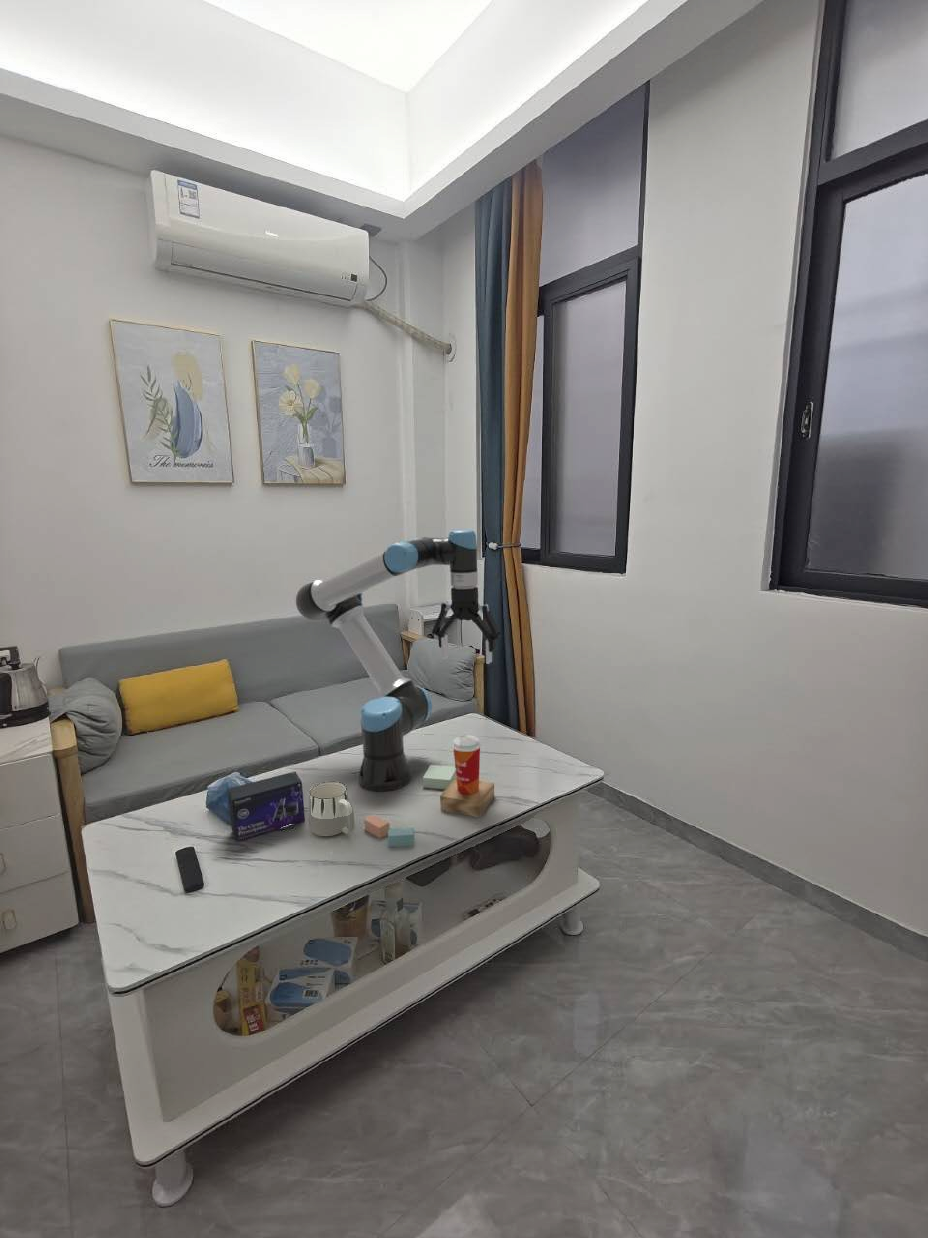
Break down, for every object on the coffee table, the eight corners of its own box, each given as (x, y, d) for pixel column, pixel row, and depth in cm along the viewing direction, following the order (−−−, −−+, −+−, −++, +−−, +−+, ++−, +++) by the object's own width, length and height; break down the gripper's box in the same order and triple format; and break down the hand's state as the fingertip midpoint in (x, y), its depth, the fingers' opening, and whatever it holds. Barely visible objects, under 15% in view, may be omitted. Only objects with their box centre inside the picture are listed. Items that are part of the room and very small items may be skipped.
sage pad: (423, 787, 164) (422, 777, 163) (431, 774, 171) (430, 764, 171) (450, 790, 162) (450, 780, 161) (457, 776, 169) (457, 767, 169)
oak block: (440, 809, 152) (440, 795, 151) (457, 789, 162) (457, 776, 161) (479, 817, 148) (478, 803, 147) (494, 796, 157) (494, 783, 157)
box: (236, 844, 140) (230, 799, 137) (231, 831, 145) (226, 787, 143) (306, 822, 148) (302, 780, 145) (299, 811, 154) (295, 769, 151)
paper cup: (450, 785, 156) (447, 737, 153) (476, 780, 159) (474, 732, 156) (459, 799, 149) (457, 749, 146) (487, 793, 151) (485, 743, 148)
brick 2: (388, 847, 136) (387, 836, 136) (389, 840, 139) (388, 829, 139) (413, 846, 137) (413, 834, 136) (414, 838, 140) (413, 827, 139)
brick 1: (364, 830, 144) (364, 819, 143) (374, 824, 146) (373, 814, 146) (380, 839, 140) (379, 828, 139) (389, 833, 142) (389, 822, 142)
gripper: (418, 587, 161) (421, 660, 165) (502, 590, 151) (503, 668, 156) (430, 583, 168) (433, 653, 172) (511, 586, 158) (512, 660, 162)
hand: (466, 660), depth 164 cm, fingers open, 13 cm apart
